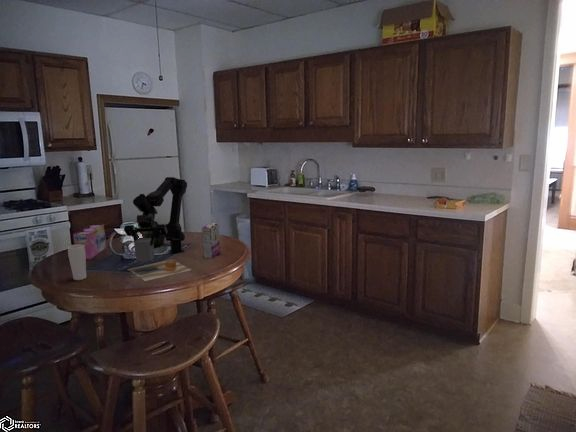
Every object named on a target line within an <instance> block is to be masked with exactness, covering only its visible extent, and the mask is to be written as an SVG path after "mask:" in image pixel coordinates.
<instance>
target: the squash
mask: <svg viewBox="0 0 576 432" xmlns="http://www.w3.org/2000/svg"><path fill="white" fill-rule="evenodd" d="M154 222H155V223H154V224H153V227H156V225H157V224H159V223H158V221H156V220H154ZM140 233H141V234H142V236H143V238H152V232H140ZM165 240H166V238H165V235H162V236H161V237H159V238H158V239H157V240H156V241H155V242H154V247H158V246H161V245H163V244H164V242H165Z"/></svg>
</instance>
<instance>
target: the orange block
mask: <svg viewBox="0 0 576 432" xmlns="http://www.w3.org/2000/svg"><path fill="white" fill-rule="evenodd" d="M165 261H166V262H165V269H166V271H175V269H176V262H177V260H176V259H167V260H165Z"/></svg>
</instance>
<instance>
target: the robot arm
mask: <svg viewBox="0 0 576 432" xmlns="http://www.w3.org/2000/svg"><path fill="white" fill-rule="evenodd" d="M187 187H188V182H187V181H186V180H185V179H180V178H176V177H173V176H167V177H165V178H164V180H163V181H162V183H161V184H160V185H159V186H158V187H157V188H156V190H154V191H152V192H149V193H148V194H147V195H145V193H140V194H139V195H137V196H135V198H133V201H132V204H133V206H134V207H136V209H137V210H138V211H139V212H141V213H142V214H141V215H140V214H138V215H136V223H137V224H138V227H135V225H134V224H126V225H124V228H123V231H124V232H125V234H126V236H128V237H132V238H133V243H134V242H135V241H136V240H137V239H138V238H139V236H138V233H139V232H152V238H151V242H150V246H152V245H153V244H154V242H155V241H156V240H157V239H158V238H159V237H161V236H162V235H165V240H166V242H167V241H168V242H169V244H170V249H169V250H168V252H170V253H172V254H177V253H183V252H185V249H183V248H182V242H183V241H185V239H186V235H185V233H184V232H183V230H182V226H181V224H180V218H181V217H180V216H181V209H182V201H183V196H184V194H185V193H186V190H187ZM169 191H170V192H171V195H172V197H171V206H170V207H171V208H170V214H169V215H170V216H169V221H168V223H160V224H159V223H158V224H157V225H156V227H153V224H154V223H155V222H154V221H155V217H156V215H157V214H158V211H157V208H155V207H161V206H162V204H163V202H164V198H165V196H166V194H168V193H169Z"/></svg>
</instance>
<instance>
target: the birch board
mask: <svg viewBox="0 0 576 432" xmlns="http://www.w3.org/2000/svg"><path fill="white" fill-rule="evenodd" d="M166 261H167V260H163V261H158V262H153V263H149V264H144V265H141V266H136V267H131V268H128V269H127V271H129V272H131V273H132V274H133V275H135V276H137V277H138V278H140V280H141V279H142V280H143V281H144V282H147V281H152V280H157V279H161V278H164V277H167V276H173V275H176V274H180V273H185V272H189V271H192V269H191V268H189V267H188V266H186V265H184V264H181V263H180V262H178V261H176V269H175V271H166V269H165V262H166Z"/></svg>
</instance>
